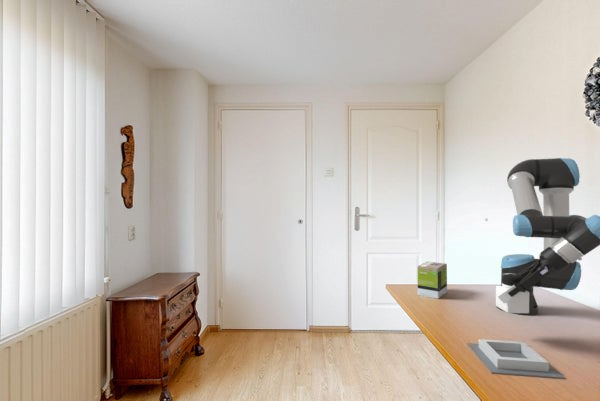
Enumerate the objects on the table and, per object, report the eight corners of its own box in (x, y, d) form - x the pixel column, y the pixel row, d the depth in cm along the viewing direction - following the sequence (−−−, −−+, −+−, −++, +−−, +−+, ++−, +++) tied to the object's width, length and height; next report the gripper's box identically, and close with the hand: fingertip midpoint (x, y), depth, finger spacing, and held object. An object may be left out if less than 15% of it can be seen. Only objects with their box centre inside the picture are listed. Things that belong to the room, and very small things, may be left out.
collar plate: (527, 350, 105) (527, 339, 105) (565, 381, 87) (565, 367, 87) (467, 346, 107) (467, 335, 107) (491, 375, 89) (491, 362, 89)
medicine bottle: (529, 313, 109) (530, 277, 109) (507, 313, 109) (508, 277, 109) (515, 306, 116) (516, 272, 116) (495, 306, 116) (495, 272, 116)
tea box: (427, 289, 173) (427, 260, 173) (447, 292, 167) (447, 263, 167) (416, 295, 161) (417, 265, 161) (438, 299, 155) (438, 268, 155)
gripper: (576, 271, 94) (510, 315, 103) (566, 258, 113) (510, 296, 122) (553, 250, 97) (490, 295, 106) (546, 241, 116) (494, 280, 125)
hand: (501, 296), depth 114 cm, fingers closed on medicine bottle, 9 cm apart
